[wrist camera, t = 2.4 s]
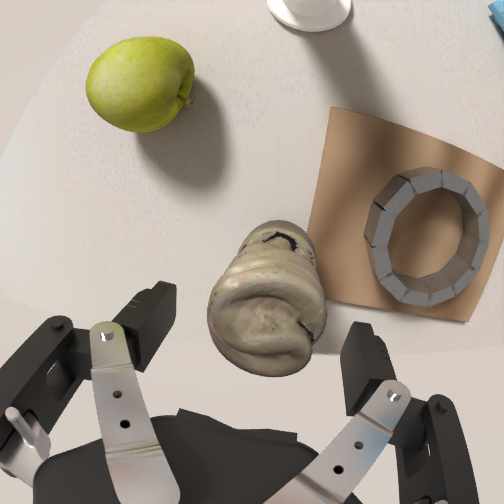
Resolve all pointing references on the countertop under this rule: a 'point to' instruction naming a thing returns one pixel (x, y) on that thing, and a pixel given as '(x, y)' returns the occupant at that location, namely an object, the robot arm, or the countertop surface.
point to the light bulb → (269, 302)
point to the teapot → (498, 12)
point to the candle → (310, 13)
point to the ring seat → (468, 251)
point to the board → (406, 222)
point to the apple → (141, 83)
